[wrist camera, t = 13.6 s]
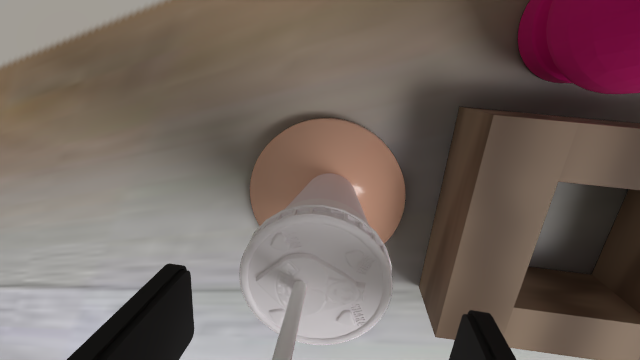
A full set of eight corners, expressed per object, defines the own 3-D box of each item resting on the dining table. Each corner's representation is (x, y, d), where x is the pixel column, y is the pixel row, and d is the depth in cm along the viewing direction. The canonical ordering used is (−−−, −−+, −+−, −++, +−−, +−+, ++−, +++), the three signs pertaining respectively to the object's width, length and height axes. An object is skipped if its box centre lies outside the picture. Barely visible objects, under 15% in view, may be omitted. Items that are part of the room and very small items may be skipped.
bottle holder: (726, 131, 19) (854, 148, 14) (632, 314, 23) (704, 375, 18) (459, 106, 20) (493, 114, 15) (418, 286, 24) (435, 337, 19)
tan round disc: (416, 126, 20) (419, 128, 19) (390, 266, 24) (391, 274, 23) (255, 110, 21) (250, 111, 20) (253, 248, 24) (249, 255, 24)
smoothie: (287, 149, 21) (172, 273, 7) (382, 158, 20) (440, 308, 7) (283, 233, 23) (188, 448, 9) (369, 243, 22) (397, 484, 9)
